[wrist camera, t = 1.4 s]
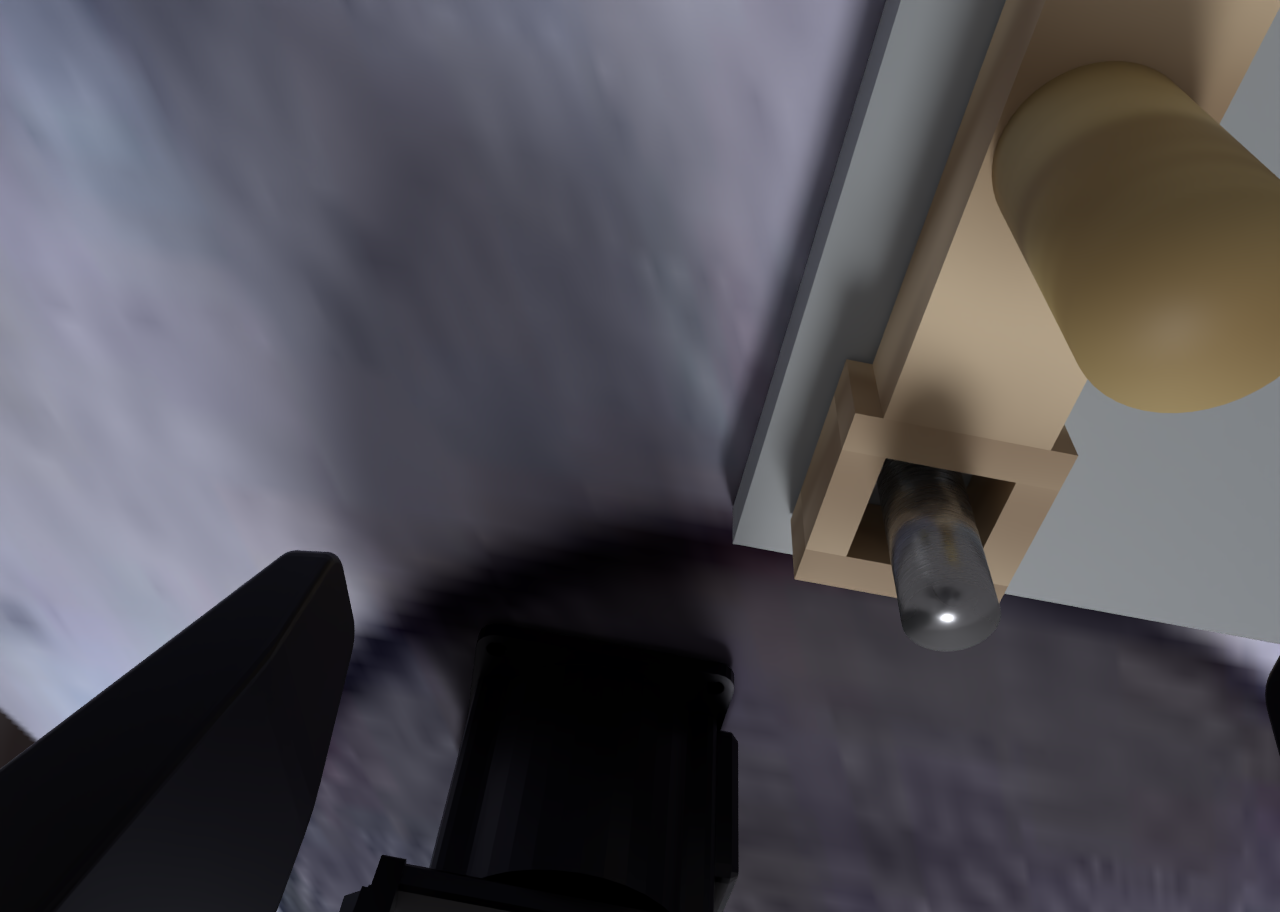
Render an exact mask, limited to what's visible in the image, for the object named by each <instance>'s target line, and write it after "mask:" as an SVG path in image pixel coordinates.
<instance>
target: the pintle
mask: <svg viewBox="0 0 1280 912" xmlns="http://www.w3.org/2000/svg"><path fill="white" fill-rule="evenodd" d="M876 482H877V487H878V493H879V499H880V504H881V510H882V515H883V521H884V527H885V532H886V538H887V544H888V549H889V555H890V560H891V566H892V572H893V577H894V583H895V589H896V594H897V600H898V605H899V611H900V617H901V622H902V627H903V630H904V632H905V633H906V635H907V636H908V637H909V638H910V639H911V640H912V641H913V642H915V643H916V644H918V645H920V646H922V647H924V648H927V649H931V650H936V651H957V650H962V649H966V648H969V647H972V646H974V645H977V644H979V643H980V642H982V641H984V640H985V639H987V638H988V637H989V636H990V635H991V634H992V633H993V632H994V631H995V629H996V628H997V626H998V624H999V622H1000V618H1001V609H1000V605H999V602H998V598H997V595H996V591H995V588H994V584H993V581H992V577H991V574H990V570H989V567H988V563H987V560H986V556H985V553H984V549H983V546H982V543H981V539H980V536H979V532H978V529H977V525H976V522H975V518H974V515H973V511H972V508H971V504H970V501H969V497H968V494H967V490H966V487H965V483H964V480H963V476H962V473H961V472H957V471H951V470H946V469H941V468H936V467H930V466H925V465H920V464H914V463H909V462H904V461H899V460H893V459H888V458H886V459H885V461H884V464H883V466H882V469H881V471H880V474H879V476H878V479H877V481H876Z"/></svg>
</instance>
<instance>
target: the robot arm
mask: <svg viewBox="0 0 1280 912" xmlns="http://www.w3.org/2000/svg"><path fill="white" fill-rule="evenodd" d="M354 631H355V630H354V619H353V614H352V609H351V604H350V599H349V594H348V590H347V585H346V580H345V575H344V570H343V566H342V563H341V561H340V559H339V558H338V556H336V555H335V554H333V553H330V552H317V551H300V550H295V551H290V552H287V553H285V554H283V555H282V556H280V557H279V558H278V559H276V560H275V561H274V562H272V563H271V564H270V565H268V566H267V567H266V568H264V569H263V570H262V571H261V572H259V573H258V574H257V575H255V576H254V577H253V578H251V579H250V580H249V581H247V582H246V583H245V584H243V585H242V586H241V587H239V588H238V589H237V590H235V591H234V592H233V593H232V594H230V595H229V596H228V597H226V598H225V599H224V600H222V601H221V602H220V603H218V604H217V605H216V606H214V607H213V608H212V609H210V610H209V611H208V612H206V613H205V614H204V615H203V616H201V617H200V618H199V619H197V620H196V621H195V622H193V623H192V624H191V625H189V626H188V627H187V628H185V629H184V630H183V631H181V632H180V633H179V634H177V635H176V636H175V637H174V638H172V639H171V640H170V641H168V642H167V643H166V644H164V645H163V646H162V647H160V648H159V649H158V650H156V651H155V652H154V653H152V654H151V655H150V656H148V657H147V658H146V659H145V660H143V661H142V662H141V663H139V664H138V665H137V666H135V667H134V668H133V669H131V670H130V671H129V672H127V673H126V674H125V675H123V676H122V677H121V678H119V679H118V680H117V681H116V682H114V683H113V684H112V685H110V686H109V687H108V688H106V689H105V690H104V691H102V692H101V693H100V694H98V695H97V696H96V697H94V698H93V699H92V700H90V701H89V702H88V703H87V704H85V705H84V706H83V707H81V708H80V709H79V710H77V711H76V712H75V713H73V714H72V715H71V716H69V717H68V718H67V719H65V720H64V721H63V722H61V723H60V724H59V725H58V726H56V727H55V728H54V729H52V730H51V731H50V732H48V733H47V734H46V735H44V736H43V737H42V738H40V739H39V740H38V741H36V742H35V743H34V744H32V745H31V746H30V747H29V748H27V749H26V750H25V751H23V752H22V753H21V754H19V755H18V756H17V757H15V758H14V759H13V760H11V761H10V762H9V763H7V764H6V765H5V766H3V767H2V768H1V769H0V912H276V911H277V909H278V906H279V903H280V900H281V898H282V895H283V892H284V890H285V887H286V884H287V881H288V879H289V876H290V873H291V871H292V868H293V865H294V862H295V860H296V857H297V854H298V851H299V849H300V846H301V843H302V841H303V838H304V835H305V832H306V829H307V826H308V823H309V820H310V817H311V814H312V811H313V808H314V804H315V801H316V797H317V793H318V789H319V786H320V782H321V778H322V774H323V769H324V765H325V761H326V757H327V753H328V749H329V745H330V740H331V736H332V732H333V728H334V724H335V720H336V716H337V711H338V707H339V703H340V699H341V695H342V691H343V687H344V683H345V678H346V674H347V670H348V666H349V662H350V658H351V654H352V649H353V643H354ZM493 642H498V643H501V644H503V645H498V644H495V643H493ZM710 681H718V683H712V682H710ZM733 692H734V673H733V671H732V669H731V668H729V667H728V666H727V665H725V664H722V663H719V662H713V661H707V660H702V659H696V658H691V657H685V656H679V655H674V654H668V653H663V652H657V651H651V650H646V649H640V648H634V647H629V646H623V645H618V644H612V643H606V642H601V641H595V640H590V639H584V638H578V637H573V636H567V635H562V634H556V633H550V632H545V631H539V630H534V629H528V628H522V627H517V626H511V625H505V624H495V623H493V624H489V625H486V626H485V627H484V628H482V629H481V632H480V634H479V638H478V641H477V645H476V652H475V660H474V669H473V677H472V685H471V693H470V701H469V709H468V718H467V723H466V727H465V731H464V735H463V739H462V742H461V746H460V750H459V754H458V758H457V762H456V766H455V770H454V773H453V777H452V781H451V785H450V789H449V793H448V797H447V801H446V805H445V808H444V812H443V816H442V820H441V824H440V828H439V832H438V836H437V840H436V843H435V847H434V851H433V855H432V859H431V863H430V867H429V868H426V867H421V866H416V865H410V864H406V859H402V858H397V857H392V856H387V855H382V856H381V859H380V861H379V864H378V867H377V870H376V873H375V876H374V878H373V881H372V884H371V885H369V886H368V887H364V886H362V888H361V891H358V892H355V893H352V894H349V895H346V896H344V899H343V902H342V905H341V908H340V911H339V912H723V911H724V908H725V906H726V904H727V901H728V899H729V896H730V894H731V892H732V889H733V887H734V885H735V882H736V880H737V877H738V741H737V740H736V738H735V737H734V736H733V734H732V733H731V732H726V731H720V729H721V727H722V724H723V721H724V718H725V715H726V712H727V709H728V707H729V704H730V701H731V698H732V695H733ZM1265 697H1266V706H1267V711H1268V714H1269V718H1270V722H1271V726H1272V729H1273V733H1274V737H1275V740H1276V744H1277V748H1278V752H1279V755H1280V656H1279V658H1278V659H1277V661H1276V663H1275V665H1274V667H1273V669H1272V671H1271V672H1270V674H1269V677H1268V680H1267V684H1266V692H1265Z"/></svg>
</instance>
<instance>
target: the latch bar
mask: <svg viewBox="0 0 1280 912" xmlns="http://www.w3.org/2000/svg"><path fill="white" fill-rule="evenodd" d="M1279 8H1280V0H1006V1H1005V4H1004V7H1003V9H1002V12H1001V15H1000V18H999V20H998V23H997V26H996V29H995V31H994V34H993V37H992V40H991V42H990V45H989V48H988V50H987V53H986V56H985V59H984V61H983V64H982V67H981V70H980V72H979V75H978V78H977V80H976V83H975V86H974V89H973V91H972V94H971V97H970V100H969V102H968V105H967V108H966V110H965V113H964V116H963V119H962V121H961V124H960V127H959V130H958V132H957V135H956V138H955V140H954V143H953V146H952V149H951V151H950V154H949V157H948V160H947V162H946V165H945V168H944V170H943V173H942V176H941V179H940V181H939V184H938V187H937V190H936V192H935V195H934V198H933V200H932V203H931V206H930V209H929V211H928V214H927V217H926V220H925V222H924V225H923V228H922V230H921V233H920V236H919V239H918V241H917V244H916V247H915V250H914V252H913V255H912V258H911V261H910V263H909V266H908V269H907V271H906V274H905V277H904V280H903V282H902V285H901V288H900V291H899V293H898V296H897V299H896V301H895V304H894V307H893V310H892V312H891V315H890V318H889V321H888V323H887V326H886V329H885V331H884V334H883V337H882V340H881V342H880V345H879V348H878V351H877V353H876V356H875V359H874V361H873V364H869V363H863V362H858V361H853V360H848V359H846V362H845V365H844V368H843V370H842V373H841V376H840V379H839V382H838V385H837V388H836V391H835V393H834V396H833V399H832V402H831V405H830V408H829V411H828V414H827V416H826V419H825V422H824V425H823V428H822V431H821V434H820V437H819V439H818V442H817V445H816V448H815V451H814V454H813V457H812V460H811V462H810V465H809V468H808V471H807V474H806V477H805V480H804V483H803V485H802V488H801V491H800V494H799V497H798V500H797V503H796V506H795V508H794V511H793V514H792V517H791V535H792V550H793V565H794V579H797V580H802V581H807V582H813V583H818V584H824V585H829V586H835V587H840V588H846V589H851V590H857V591H862V592H868V593H873V594H879V595H884V596H890V597H895V598H897V594H896V589H895V583H894V577H893V572H892V566H891V560H890V555H889V549H888V544H887V538H886V532H885V527H884V521H883V515H882V510H881V506H880V505H874V504H869V503H868V501H869V499H870V496H871V494H872V491H873V489H874V486H875V484H876V481H877V479H878V476H879V474H880V471H881V469H882V466H883V464H884V461H885V459H886V458H888V459H893V460H899V461H904V462H909V463H914V464H920V465H925V466H930V467H936V468H941V469H946V470H951V471H957V472H962V473H967V474H973V476H972V478H971V480H970V482H969V484H968V486H967V489H966V490H967V494H968V497H969V501H970V504H971V508H972V511H973V515H974V518H975V522H976V525H977V529H978V532H979V536H980V539H981V543H982V546H983V549H984V553H985V556H986V560H987V563H988V567H989V570H990V574H991V577H992V581H993V584H994V588H995V591H996V595H997V598H998V602H1000V600H1001V599H1002V597H1003V595H1004V593H1005V591H1006V589H1007V587H1008V586H1009V584H1010V582H1011V580H1012V578H1013V576H1014V574H1015V573H1016V571H1017V569H1018V567H1019V565H1020V563H1021V561H1022V560H1023V558H1024V556H1025V554H1026V552H1027V550H1028V548H1029V547H1030V545H1031V543H1032V541H1033V539H1034V537H1035V535H1036V534H1037V532H1038V530H1039V528H1040V526H1041V524H1042V522H1043V521H1044V519H1045V517H1046V515H1047V513H1048V511H1049V509H1050V508H1051V506H1052V504H1053V502H1054V500H1055V498H1056V496H1057V495H1058V493H1059V491H1060V489H1061V487H1062V485H1063V483H1064V482H1065V480H1066V478H1067V476H1068V474H1069V472H1070V470H1071V469H1072V467H1073V465H1074V463H1075V461H1076V459H1077V457H1078V454H1077V452H1076V449H1075V447H1074V445H1073V443H1072V440H1071V438H1070V436H1069V434H1068V431H1067V429H1066V427H1065V425H1064V424H1065V422H1066V420H1067V418H1068V416H1069V414H1070V412H1071V410H1072V408H1073V407H1074V405H1075V403H1076V401H1077V399H1078V397H1079V395H1080V393H1081V391H1082V389H1083V387H1084V385H1085V383H1086V381H1087V379H1088V380H1089V381H1090V382H1091V384H1092V385H1093V386H1094V387H1095V388H1097V389H1098V390H1099V391H1100V392H1102V393H1103V394H1104V395H1106V396H1107V397H1109V398H1111V399H1113V400H1114V401H1116V402H1118V403H1121V404H1123V405H1126V406H1128V407H1131V408H1135V409H1139V410H1143V411H1149V412H1157V413H1185V412H1194V411H1200V410H1205V409H1210V408H1214V407H1217V406H1221V405H1225V404H1227V403H1230V402H1233V401H1235V400H1238V399H1241V398H1243V397H1245V396H1247V395H1249V394H1251V393H1253V392H1255V391H1257V390H1259V389H1261V388H1262V387H1264V386H1266V385H1267V384H1269V383H1271V382H1272V381H1274V380H1275V379H1277V378H1278V377H1279V376H1280V179H1279V178H1278V177H1277V176H1276V175H1275V174H1273V173H1272V172H1271V171H1270V170H1269V169H1268V168H1267V167H1266V166H1265V165H1264V164H1262V163H1261V162H1260V161H1259V160H1258V159H1257V158H1256V157H1255V156H1254V155H1253V154H1252V153H1250V152H1249V151H1248V150H1247V149H1246V148H1245V147H1244V146H1243V145H1242V144H1241V143H1239V142H1238V141H1237V140H1236V139H1235V138H1234V137H1233V136H1232V135H1231V134H1230V133H1228V132H1227V131H1226V130H1225V129H1224V128H1223V127H1222V126H1221V125H1220V122H1221V120H1222V118H1223V116H1224V114H1225V113H1226V111H1227V109H1228V107H1229V105H1230V103H1231V101H1232V99H1233V97H1234V95H1235V93H1236V91H1237V89H1238V87H1239V85H1240V84H1241V82H1242V80H1243V78H1244V76H1245V74H1246V72H1247V70H1248V68H1249V66H1250V64H1251V62H1252V60H1253V58H1254V56H1255V55H1256V53H1257V51H1258V49H1259V47H1260V45H1261V43H1262V41H1263V39H1264V37H1265V35H1266V33H1267V31H1268V29H1269V27H1270V25H1271V24H1272V22H1273V20H1274V18H1275V16H1276V14H1277V12H1278V10H1279Z"/></svg>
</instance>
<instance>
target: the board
mask: <svg viewBox="0 0 1280 912" xmlns="http://www.w3.org/2000/svg"><path fill="white" fill-rule="evenodd" d="M1005 1H1006V0H886V2H885V5H884V9H883V12H882V15H881V19H880V22H879V25H878V29H877V32H876V35H875V38H874V42H873V45H872V48H871V52H870V55H869V58H868V62H867V65H866V68H865V72H864V75H863V78H862V82H861V85H860V88H859V92H858V95H857V98H856V101H855V105H854V108H853V111H852V115H851V118H850V121H849V125H848V128H847V131H846V135H845V138H844V141H843V145H842V148H841V151H840V155H839V158H838V161H837V164H836V168H835V171H834V174H833V178H832V181H831V184H830V188H829V191H828V194H827V198H826V201H825V204H824V208H823V211H822V214H821V218H820V221H819V224H818V227H817V231H816V234H815V237H814V241H813V244H812V247H811V251H810V254H809V257H808V261H807V264H806V267H805V271H804V274H803V277H802V281H801V284H800V287H799V290H798V294H797V297H796V300H795V304H794V307H793V310H792V314H791V317H790V320H789V324H788V327H787V330H786V334H785V337H784V340H783V344H782V347H781V350H780V353H779V357H778V360H777V363H776V367H775V370H774V373H773V377H772V380H771V383H770V387H769V390H768V393H767V397H766V400H765V403H764V407H763V410H762V413H761V416H760V420H759V423H758V426H757V430H756V433H755V436H754V440H753V443H752V446H751V450H750V453H749V456H748V460H747V463H746V466H745V470H744V473H743V476H742V479H741V483H740V486H739V489H738V493H737V496H736V499H735V503H734V506H733V544H738V545H744V546H749V547H754V548H760V549H765V550H771V551H776V552H782V553H787V554H792V555H793V550H792V535H791V517H792V514H793V511H794V508H795V506H796V503H797V500H798V497H799V494H800V491H801V488H802V485H803V483H804V480H805V477H806V474H807V471H808V468H809V465H810V462H811V460H812V457H813V454H814V451H815V448H816V445H817V442H818V439H819V437H820V434H821V431H822V428H823V425H824V422H825V419H826V416H827V414H828V411H829V408H830V405H831V402H832V399H833V396H834V393H835V391H836V388H837V385H838V382H839V379H840V376H841V373H842V370H843V368H844V365H845V362H846V359H848V360H853V361H858V362H863V363H869V364H873V361H874V359H875V356H876V353H877V351H878V348H879V345H880V342H881V340H882V337H883V334H884V331H885V329H886V326H887V323H888V321H889V318H890V315H891V312H892V310H893V307H894V304H895V301H896V299H897V296H898V293H899V291H900V288H901V285H902V282H903V280H904V277H905V274H906V271H907V269H908V266H909V263H910V261H911V258H912V255H913V252H914V250H915V247H916V244H917V241H918V239H919V236H920V233H921V230H922V228H923V225H924V222H925V220H926V217H927V214H928V211H929V209H930V206H931V203H932V200H933V198H934V195H935V192H936V190H937V187H938V184H939V181H940V179H941V176H942V173H943V170H944V168H945V165H946V162H947V160H948V157H949V154H950V151H951V149H952V146H953V143H954V140H955V138H956V135H957V132H958V130H959V127H960V124H961V121H962V119H963V116H964V113H965V110H966V108H967V105H968V102H969V100H970V97H971V94H972V91H973V89H974V86H975V83H976V80H977V78H978V75H979V72H980V70H981V67H982V64H983V61H984V59H985V56H986V53H987V50H988V48H989V45H990V42H991V40H992V37H993V34H994V31H995V29H996V26H997V23H998V20H999V18H1000V15H1001V12H1002V9H1003V7H1004V4H1005ZM1220 125H1221V126H1222V127H1223V128H1224V129H1225V130H1226V131H1227V132H1228V133H1230V134H1231V135H1232V136H1233V137H1234V138H1235V139H1236V140H1237V141H1238V142H1239V143H1241V144H1242V145H1243V146H1244V147H1245V148H1246V149H1247V150H1248V151H1249V152H1250V153H1252V154H1253V155H1254V156H1255V157H1256V158H1257V159H1258V160H1259V161H1260V162H1261V163H1262V164H1264V165H1265V166H1266V167H1267V168H1268V169H1269V170H1270V171H1271V172H1272V173H1273V174H1275V175H1276V176H1277V177H1278V178H1279V179H1280V8H1279V10H1278V12H1277V14H1276V16H1275V18H1274V20H1273V22H1272V24H1271V25H1270V27H1269V29H1268V31H1267V33H1266V35H1265V37H1264V39H1263V41H1262V43H1261V45H1260V47H1259V49H1258V51H1257V53H1256V55H1255V56H1254V58H1253V60H1252V62H1251V64H1250V66H1249V68H1248V70H1247V72H1246V74H1245V76H1244V78H1243V80H1242V82H1241V84H1240V85H1239V87H1238V89H1237V91H1236V93H1235V95H1234V97H1233V99H1232V101H1231V103H1230V105H1229V107H1228V109H1227V111H1226V113H1225V114H1224V116H1223V118H1222V120H1221V122H1220ZM1064 425H1065V427H1066V429H1067V431H1068V434H1069V436H1070V438H1071V440H1072V443H1073V445H1074V447H1075V449H1076V452H1077V454H1078V457H1077V459H1076V461H1075V463H1074V465H1073V467H1072V469H1071V470H1070V472H1069V474H1068V476H1067V478H1066V480H1065V482H1064V483H1063V485H1062V487H1061V489H1060V491H1059V493H1058V495H1057V496H1056V498H1055V500H1054V502H1053V504H1052V506H1051V508H1050V509H1049V511H1048V513H1047V515H1046V517H1045V519H1044V521H1043V522H1042V524H1041V526H1040V528H1039V530H1038V532H1037V534H1036V535H1035V537H1034V539H1033V541H1032V543H1031V545H1030V547H1029V548H1028V550H1027V552H1026V554H1025V556H1024V558H1023V560H1022V561H1021V563H1020V565H1019V567H1018V569H1017V571H1016V573H1015V574H1014V576H1013V578H1012V580H1011V582H1010V584H1009V586H1008V587H1007V589H1006V591H1005V594H1010V595H1015V596H1021V597H1026V598H1032V599H1037V600H1043V601H1048V602H1054V603H1059V604H1064V605H1070V606H1075V607H1081V608H1086V609H1092V610H1097V611H1103V612H1108V613H1113V614H1119V615H1124V616H1130V617H1135V618H1141V619H1146V620H1151V621H1157V622H1162V623H1168V624H1173V625H1179V626H1184V627H1190V628H1195V629H1200V630H1206V631H1211V632H1217V633H1222V634H1228V635H1233V636H1238V637H1244V638H1249V639H1255V640H1260V641H1266V642H1271V643H1277V644H1280V376H1279V377H1278V378H1277V379H1275V380H1274V381H1272V382H1271V383H1269V384H1267V385H1266V386H1264V387H1262V388H1261V389H1259V390H1257V391H1255V392H1253V393H1251V394H1249V395H1247V396H1245V397H1243V398H1241V399H1238V400H1235V401H1233V402H1230V403H1227V404H1225V405H1221V406H1217V407H1214V408H1210V409H1205V410H1200V411H1194V412H1185V413H1157V412H1149V411H1143V410H1139V409H1135V408H1131V407H1128V406H1126V405H1123V404H1121V403H1118V402H1116V401H1114V400H1113V399H1111V398H1109V397H1107V396H1106V395H1104V394H1103V393H1102V392H1100V391H1099V390H1098V389H1097V388H1095V387H1094V386H1093V385H1092V384H1091V382H1090V381H1089V380H1088V379H1087V381H1086V383H1085V385H1084V387H1083V389H1082V391H1081V393H1080V395H1079V397H1078V399H1077V401H1076V403H1075V405H1074V407H1073V408H1072V410H1071V412H1070V414H1069V416H1068V418H1067V420H1066V422H1065V424H1064ZM961 473H962V472H961ZM962 476H963V480H964V483H965V487H966V489H967V486H968V484H969V482H970V480H971V478H972V476H973V474H967V473H962ZM868 503H869V504H874V505H880V506H881V504H880V499H879V493H878V487H877V482H876V484H875V486H874V489H873V491H872V494H871V496H870V499H869V501H868Z"/></svg>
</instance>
